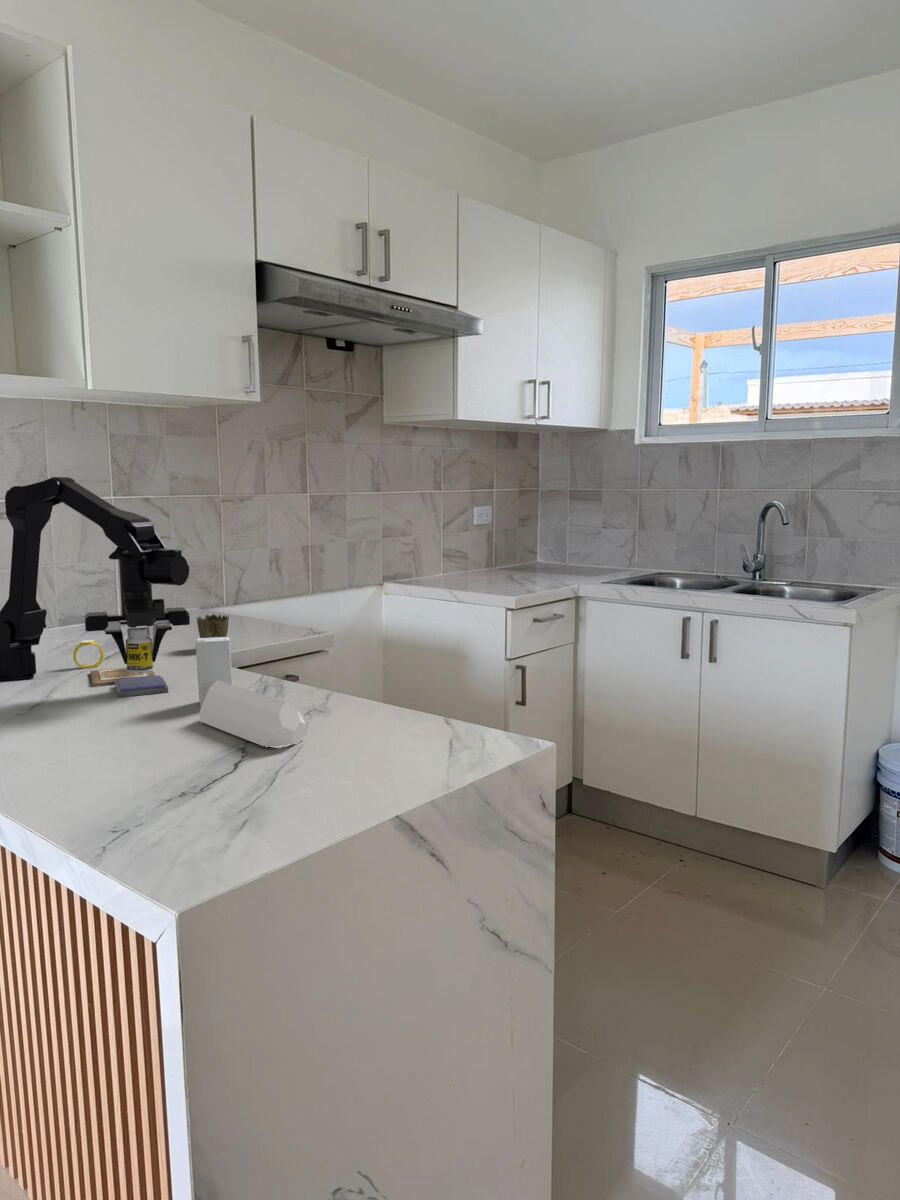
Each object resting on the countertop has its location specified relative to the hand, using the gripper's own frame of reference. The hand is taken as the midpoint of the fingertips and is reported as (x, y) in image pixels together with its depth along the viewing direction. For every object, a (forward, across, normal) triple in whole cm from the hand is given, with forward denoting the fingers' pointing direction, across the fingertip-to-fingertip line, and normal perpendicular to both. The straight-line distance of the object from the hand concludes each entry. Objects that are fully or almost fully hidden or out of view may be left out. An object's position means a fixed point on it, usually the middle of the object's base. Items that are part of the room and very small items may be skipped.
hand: (139, 662), depth 162 cm
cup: (+6, +20, +34) cm, 39 cm away
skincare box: (+6, +12, -16) cm, 21 cm away
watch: (+6, -8, +26) cm, 27 cm away
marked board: (+5, -2, +12) cm, 14 cm away
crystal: (+6, +14, -36) cm, 39 cm away
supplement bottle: (+2, 0, 0) cm, 2 cm away
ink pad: (+5, 0, 0) cm, 5 cm away
